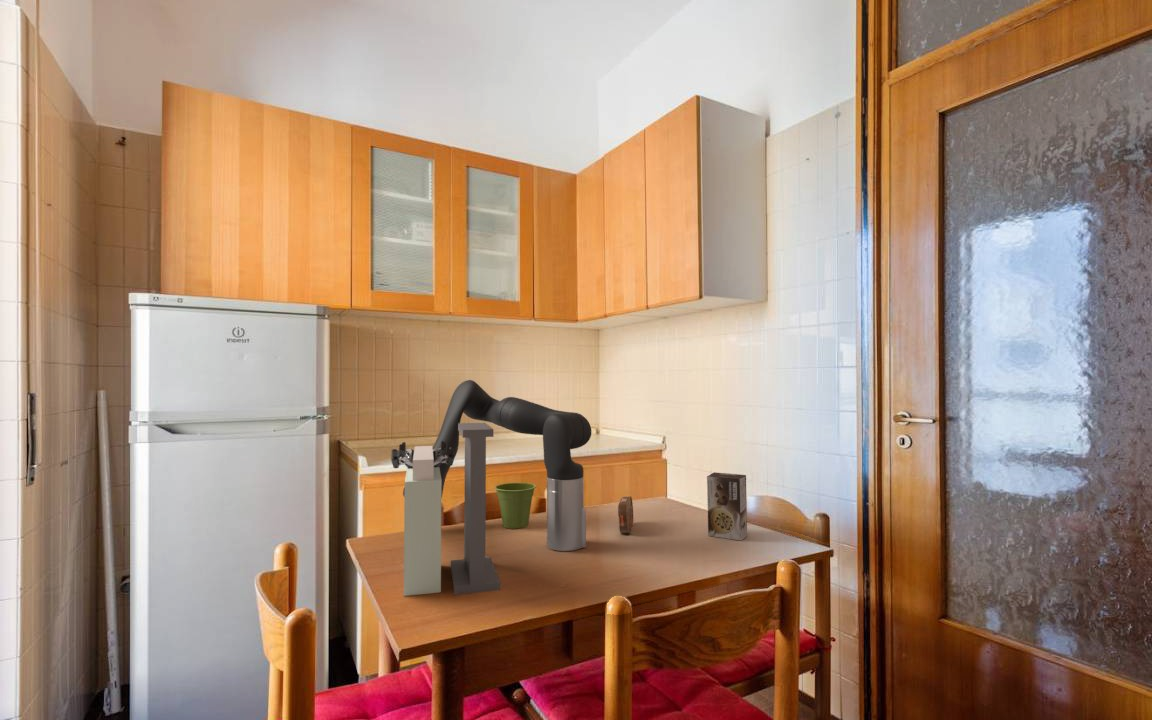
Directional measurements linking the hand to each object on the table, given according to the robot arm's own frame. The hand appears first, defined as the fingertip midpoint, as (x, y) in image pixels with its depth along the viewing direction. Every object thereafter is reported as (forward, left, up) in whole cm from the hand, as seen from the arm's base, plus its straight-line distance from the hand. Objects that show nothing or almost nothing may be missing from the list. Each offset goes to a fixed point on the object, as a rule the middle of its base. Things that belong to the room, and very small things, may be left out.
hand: (423, 445), depth 124 cm
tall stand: (-11, +11, -27) cm, 31 cm away
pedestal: (0, +9, -27) cm, 28 cm away
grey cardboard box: (-79, -2, -27) cm, 83 cm away
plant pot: (-25, -27, -27) cm, 46 cm away
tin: (-55, -15, -27) cm, 63 cm away
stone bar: (0, +5, -5) cm, 7 cm away
